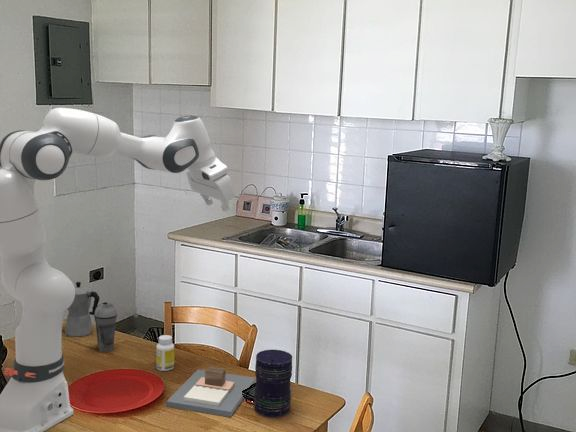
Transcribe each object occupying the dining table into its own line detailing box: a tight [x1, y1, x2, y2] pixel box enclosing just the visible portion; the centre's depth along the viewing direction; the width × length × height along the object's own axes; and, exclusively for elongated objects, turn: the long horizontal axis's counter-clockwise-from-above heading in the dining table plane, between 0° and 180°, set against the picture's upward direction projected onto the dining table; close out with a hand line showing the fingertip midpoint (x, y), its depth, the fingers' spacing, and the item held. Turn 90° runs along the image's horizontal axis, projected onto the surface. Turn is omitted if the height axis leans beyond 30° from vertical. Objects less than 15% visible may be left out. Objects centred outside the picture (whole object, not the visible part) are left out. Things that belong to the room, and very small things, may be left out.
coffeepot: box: [64, 281, 100, 338], centre depth 220 cm, size 15×9×18 cm, turn 66°
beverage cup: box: [93, 288, 118, 353], centre depth 207 cm, size 7×7×20 cm
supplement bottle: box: [155, 334, 175, 372], centre depth 195 cm, size 5×5×10 cm
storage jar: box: [253, 349, 293, 419], centre depth 172 cm, size 10×10×15 cm
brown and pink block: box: [195, 366, 235, 393], centre depth 181 cm, size 5×10×5 cm, turn 76°
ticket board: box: [166, 368, 256, 418], centre depth 180 cm, size 22×18×3 cm
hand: (217, 207), depth 197 cm, fingers open, 8 cm apart
